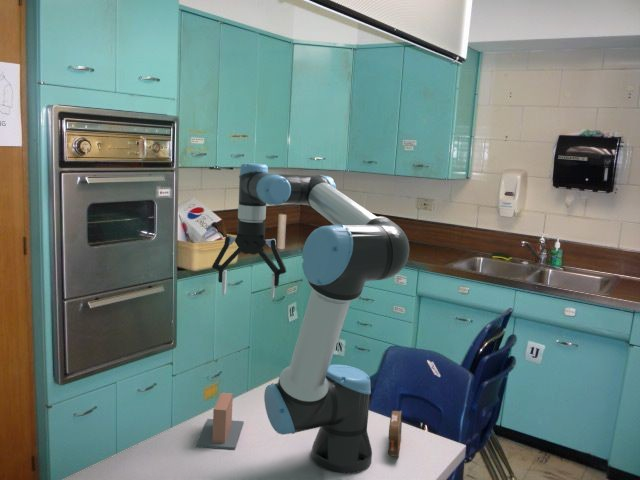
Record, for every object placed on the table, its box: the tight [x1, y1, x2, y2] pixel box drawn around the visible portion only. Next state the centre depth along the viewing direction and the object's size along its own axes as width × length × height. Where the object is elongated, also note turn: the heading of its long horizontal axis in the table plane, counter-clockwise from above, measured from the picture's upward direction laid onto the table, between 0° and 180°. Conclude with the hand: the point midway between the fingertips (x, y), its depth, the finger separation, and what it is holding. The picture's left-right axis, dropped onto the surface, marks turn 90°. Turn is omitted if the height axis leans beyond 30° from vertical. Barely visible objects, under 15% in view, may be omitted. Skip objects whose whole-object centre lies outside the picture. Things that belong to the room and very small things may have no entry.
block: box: [212, 392, 234, 443], centre depth 151 cm, size 3×9×10 cm
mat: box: [195, 418, 245, 451], centre depth 152 cm, size 10×14×1 cm
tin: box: [388, 410, 403, 458], centre depth 151 cm, size 15×3×8 cm, turn 168°
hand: (248, 295), depth 160 cm, fingers open, 13 cm apart
